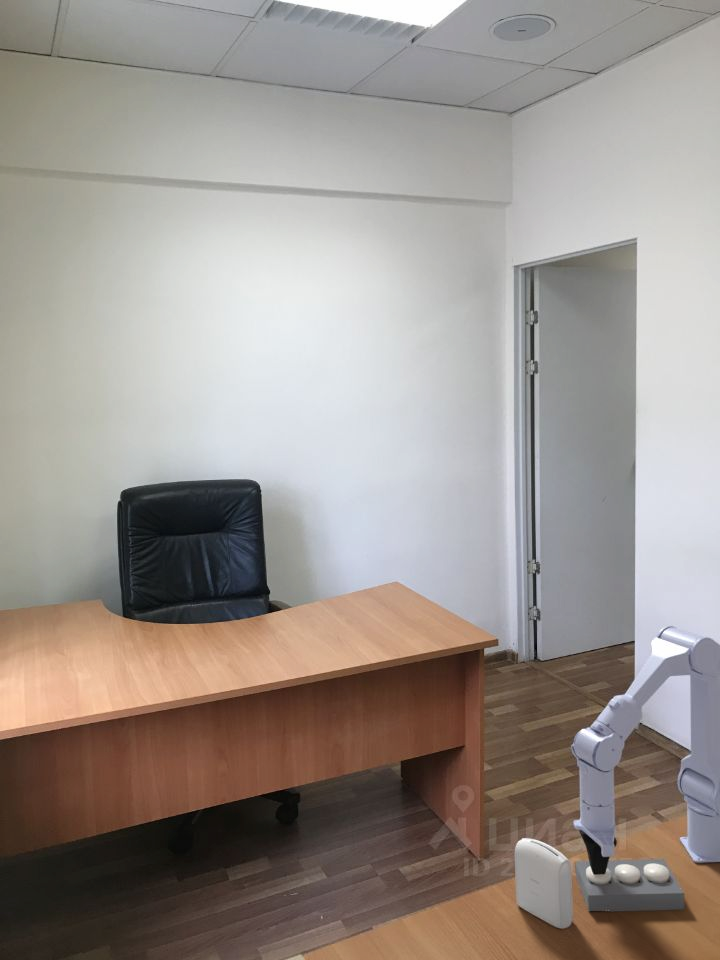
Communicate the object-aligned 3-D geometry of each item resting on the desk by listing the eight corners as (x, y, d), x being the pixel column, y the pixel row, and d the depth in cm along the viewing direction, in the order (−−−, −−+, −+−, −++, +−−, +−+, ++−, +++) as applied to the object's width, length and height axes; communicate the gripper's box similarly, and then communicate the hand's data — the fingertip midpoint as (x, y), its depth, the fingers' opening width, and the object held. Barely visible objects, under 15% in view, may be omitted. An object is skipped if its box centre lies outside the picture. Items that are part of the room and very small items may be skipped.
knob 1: (607, 885, 145) (607, 864, 145) (614, 900, 141) (613, 878, 140) (584, 885, 145) (583, 865, 145) (589, 900, 141) (589, 879, 141)
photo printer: (512, 905, 141) (510, 837, 140) (528, 894, 144) (526, 828, 142) (561, 933, 133) (559, 862, 132) (577, 922, 136) (575, 852, 134)
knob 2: (664, 883, 145) (664, 863, 144) (672, 898, 140) (672, 877, 140) (640, 884, 145) (640, 863, 144) (648, 899, 141) (647, 877, 140)
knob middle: (636, 884, 145) (635, 863, 144) (643, 899, 141) (643, 878, 140) (612, 885, 145) (611, 864, 145) (618, 899, 141) (618, 878, 140)
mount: (664, 874, 147) (664, 858, 147) (684, 909, 138) (684, 893, 137) (575, 876, 148) (574, 861, 148) (588, 912, 138) (588, 895, 138)
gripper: (564, 779, 148) (566, 849, 150) (583, 821, 134) (585, 898, 135) (603, 778, 148) (605, 848, 150) (627, 820, 134) (628, 897, 135)
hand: (598, 872), depth 143 cm, fingers closed, pressing on knob 1
